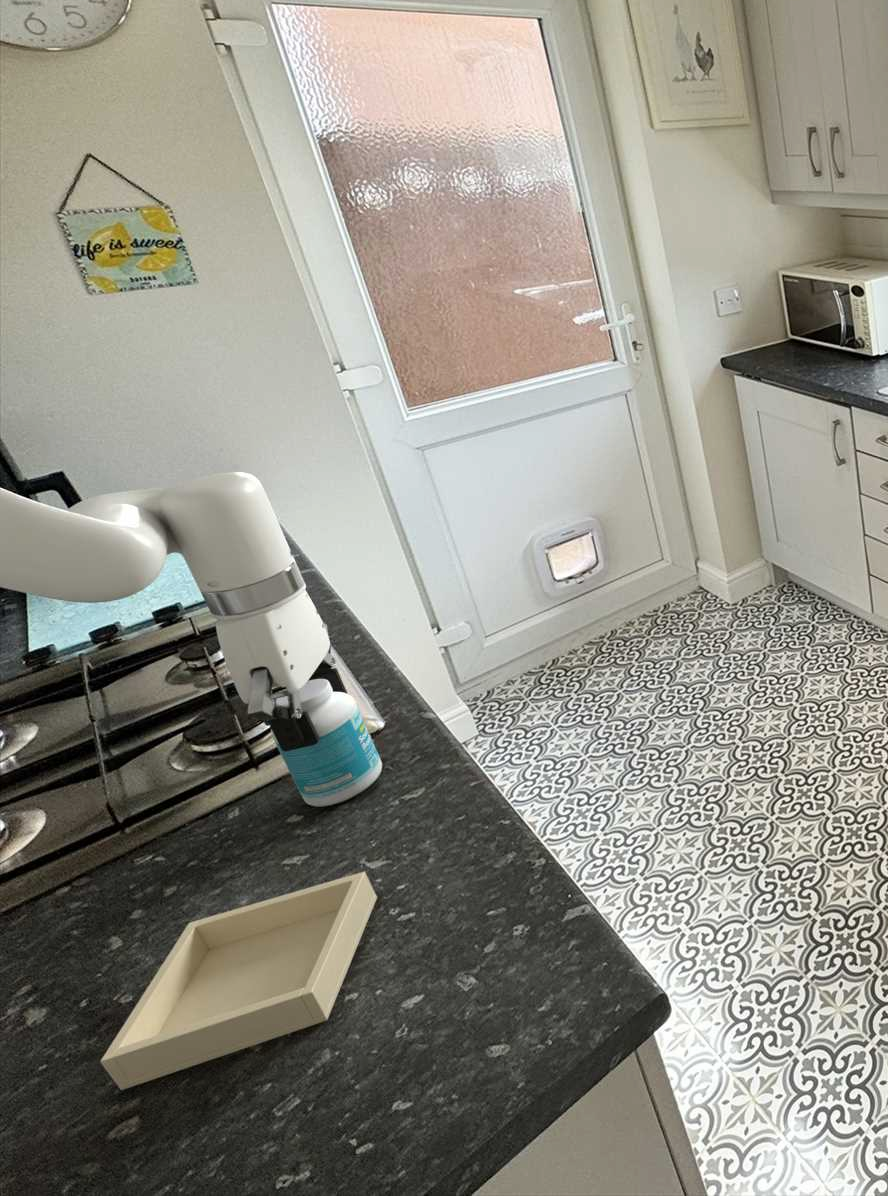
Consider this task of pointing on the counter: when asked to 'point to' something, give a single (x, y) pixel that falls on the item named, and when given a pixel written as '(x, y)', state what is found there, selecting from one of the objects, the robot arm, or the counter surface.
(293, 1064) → the counter surface
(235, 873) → the counter surface
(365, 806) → the counter surface
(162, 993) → the tray
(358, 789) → the pill bottle
